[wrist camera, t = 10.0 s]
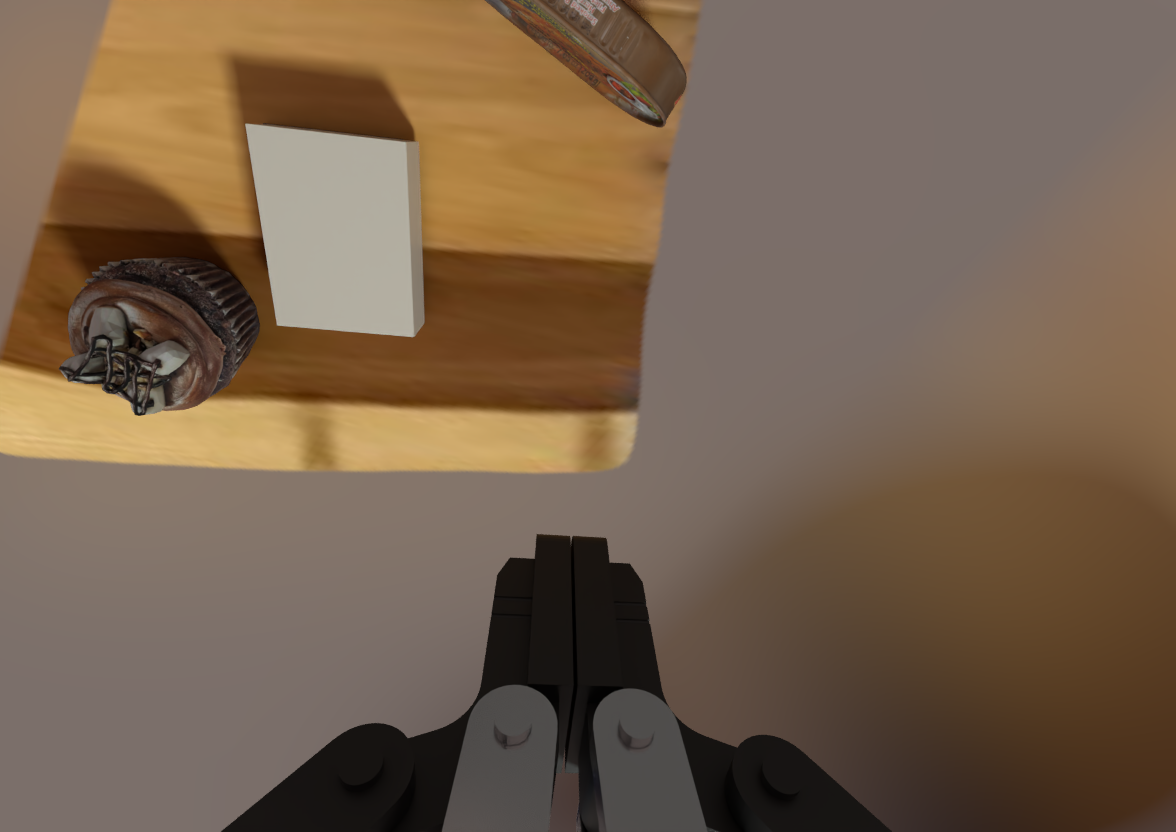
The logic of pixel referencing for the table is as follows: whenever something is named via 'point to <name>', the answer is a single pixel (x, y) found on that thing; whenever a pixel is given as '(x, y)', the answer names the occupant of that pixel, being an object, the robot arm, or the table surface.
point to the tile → (340, 228)
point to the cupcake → (160, 332)
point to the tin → (605, 51)
